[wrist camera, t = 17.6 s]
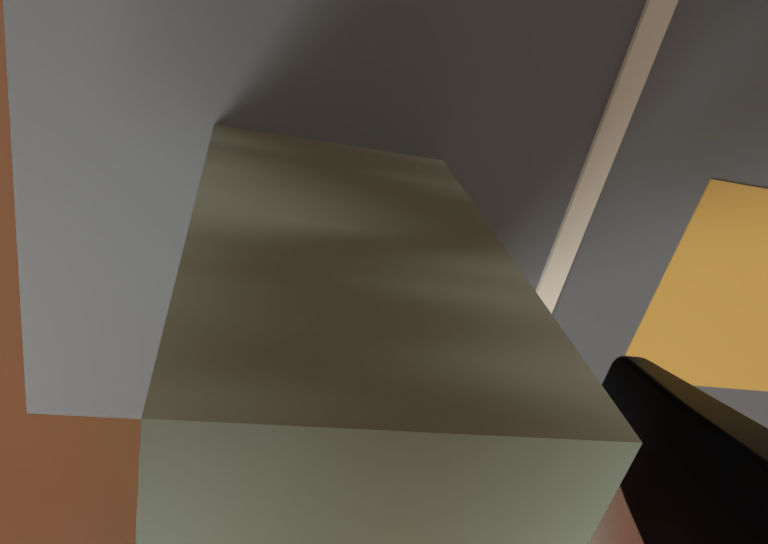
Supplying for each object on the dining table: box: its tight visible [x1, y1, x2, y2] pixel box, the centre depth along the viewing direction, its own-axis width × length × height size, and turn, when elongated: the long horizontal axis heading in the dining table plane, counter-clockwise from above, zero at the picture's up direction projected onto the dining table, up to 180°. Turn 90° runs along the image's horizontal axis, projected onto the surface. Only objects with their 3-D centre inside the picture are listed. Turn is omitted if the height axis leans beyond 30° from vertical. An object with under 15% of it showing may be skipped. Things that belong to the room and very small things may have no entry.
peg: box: [136, 124, 642, 544], centre depth 9 cm, size 4×4×7 cm
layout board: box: [3, 0, 768, 428], centre depth 12 cm, size 20×17×1 cm
